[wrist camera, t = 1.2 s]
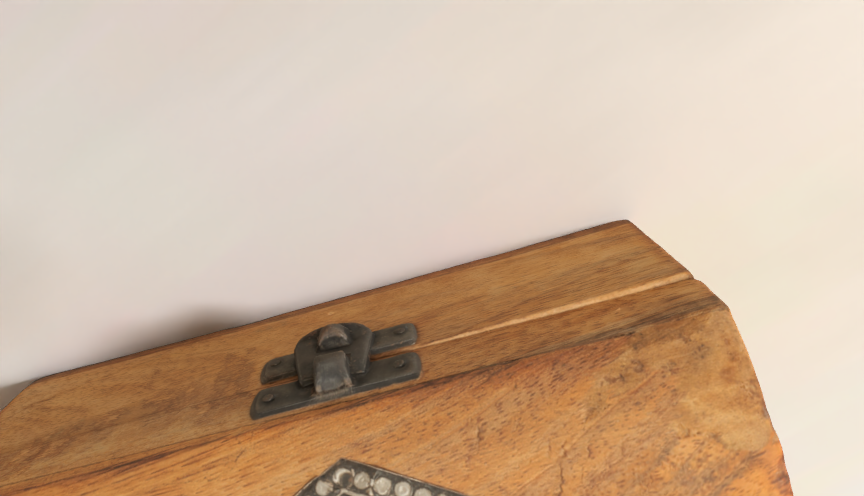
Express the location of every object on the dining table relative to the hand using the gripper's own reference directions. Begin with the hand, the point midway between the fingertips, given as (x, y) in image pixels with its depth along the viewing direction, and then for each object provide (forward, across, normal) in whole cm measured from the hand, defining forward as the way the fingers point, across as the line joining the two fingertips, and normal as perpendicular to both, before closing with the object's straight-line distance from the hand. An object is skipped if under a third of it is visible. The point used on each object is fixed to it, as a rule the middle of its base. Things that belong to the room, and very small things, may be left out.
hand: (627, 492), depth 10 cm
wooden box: (+26, -6, -13) cm, 30 cm away
